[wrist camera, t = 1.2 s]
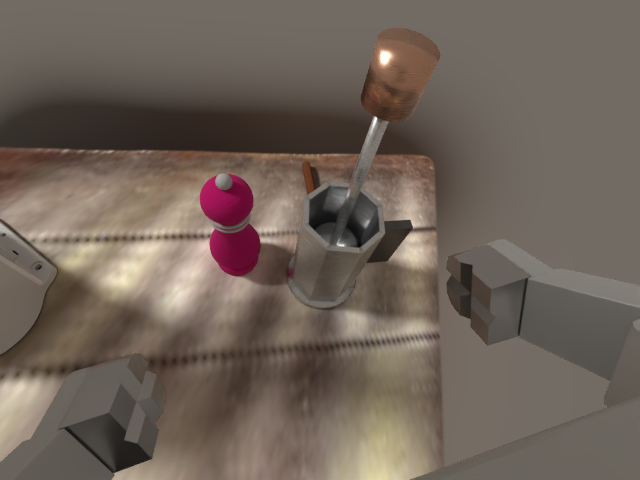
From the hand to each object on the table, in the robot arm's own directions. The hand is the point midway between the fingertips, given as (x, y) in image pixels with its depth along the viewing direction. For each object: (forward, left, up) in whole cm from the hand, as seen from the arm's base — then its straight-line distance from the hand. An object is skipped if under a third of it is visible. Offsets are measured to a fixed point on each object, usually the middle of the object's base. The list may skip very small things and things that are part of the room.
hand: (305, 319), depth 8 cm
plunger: (-8, +17, -28) cm, 34 cm away
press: (-8, +18, -39) cm, 44 cm away
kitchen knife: (-20, +26, -40) cm, 52 cm away
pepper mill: (-19, +9, -40) cm, 45 cm away
